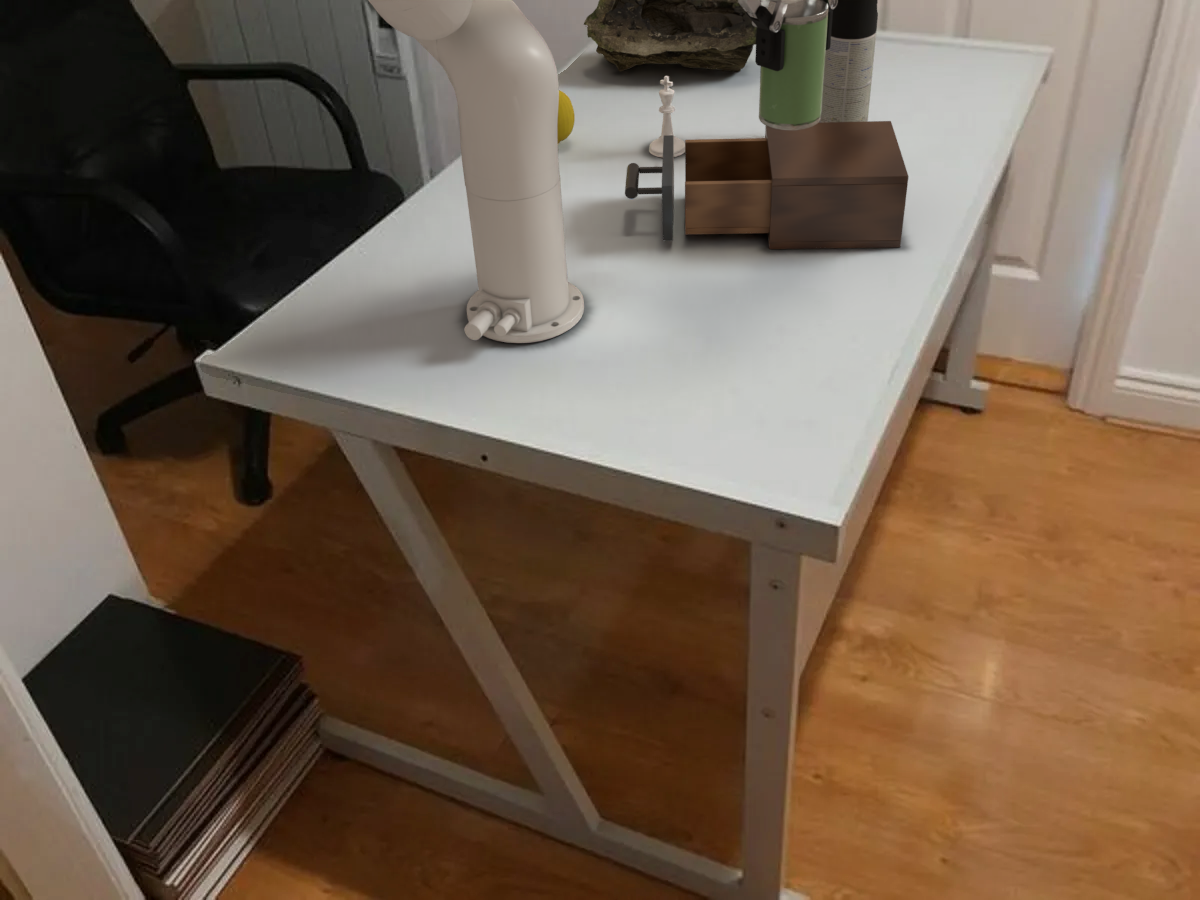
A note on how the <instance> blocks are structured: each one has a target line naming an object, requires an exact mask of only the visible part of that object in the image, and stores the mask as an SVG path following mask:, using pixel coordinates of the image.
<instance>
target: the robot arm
mask: <svg viewBox="0 0 1200 900" xmlns="http://www.w3.org/2000/svg"><path fill="white" fill-rule="evenodd" d="M367 1H368V2H369V3H370V5H371V6H372V7H373V8H374V10H375V11H376V12H377V14H378V15H379V16H380V18H382V19H383V20H384V21H385V22H386V23H387V24H388V25H390V26H391V27H392V28H393V29H395V30H396V31H398V32H400V33H402V34H403V35H405V36H408V37H410V38H414V39H415V40H416V42H418V43H419V44H420V45H421V46H422V47H423V48H424V49H425V51H427V52H428V53H429V54H430V56H432V57H433V58H434V59H435V60H436V61H437V62H438V64H439V65H440V66H441V67H442V69H443V70H444V72H445V74H446V76H447V77H448V78H447V79H448V81H449V83H450V84H451V86H452V87H453V91H454V95H455V98H456V103H457V109H458V118H459V119H458V120H459V141H460V153H461V154H460V155H461V163H462V172H463V181H464V186H465V192H466V199H467V200H466V201H467V208H468V209H467V210H468V216H469V222H470V223H469V224H470V231H471V238H472V246H473V247H472V248H473V254H474V264H475V271H476V279H477V287H478V290H476V291H475V292H474V293H473V294H472V295H471V296H470V298H469V299H468V301H467V304H466V317H467V321H468V322H467V323H466V325H464V333H465V335H466V337H467V338H468V339H470V340H472V341H479V340H480V339H481V338H482V337H485V338H487V339H490V340H493V341H497V342H500V343H501V342H502V343H503V342H504V343H508V344H530V343H537V342H543V341H546V340H549V339H552V338H555V337H558V336H560V335H562V334H564V333H566V332H568V331H569V330H571V329H572V328H573V327H574V326H576V325H577V324H578V323H579V322H580V321H581V319H582V318H583V315H584V313H585V301H584V296H583V293H582V292H581V290H580V289H579V288H578V287H577V286H576V285H574V284H572V283H571V282H570V281H569V278H568V265H567V264H568V263H567V251H566V250H567V249H566V237H565V223H564V210H563V195H562V182H561V175H560V161H559V160H560V159H559V144H558V139H557V122H558V104H559V90H560V82H559V74H558V69H557V65H556V62H555V59H554V56H553V53H552V51H551V48H550V47H549V46H548V44H547V42H546V40H545V39H544V38H543V36H542V35H541V33H540V32H539V31H538V29H537V28H536V27H535V25H534V24H533V23H532V22H531V21H530V20H529V19H528V18H527V16H526V15H525V14H524V12H523V11H522V10H521V8H520V7H519V6H518V5H517V4H516V2H514V0H367ZM770 1H772V2H775V3H776V4H775V8H774V11H773V14H771V13H770V12H769V10H768V6H769V2H770ZM798 1H801V0H738V3H739V4H740V5H741V6H742V8H743V9H744V10H745V11H746V14H747V16H748V17H749V18H750V19H751V20H752V25H753V26H755V27H756V45H755V60H754V61H755V64H756V65H757V66H759V67H761V66H762V67H765V68H768V69H771V70H774V71H780V70H782V69H783V67H784V48H785V30H782V29H780V28H781V25H782V22H783V18H784V15H785V12H786V9H787V5H788V4H792V3H796V2H798ZM823 1H825V2H826V3H827V4H828V7H829V8H828V23H827V37H826V50H828V49H830V44H831V30H832V15H833V11H832V10H831V9H834V8H835V7H836V6H837V3H838V0H823Z"/></svg>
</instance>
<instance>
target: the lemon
mask: <svg viewBox="0 0 1200 900" xmlns="http://www.w3.org/2000/svg"><path fill="white" fill-rule="evenodd" d="M575 121H576V116H575V109H574V106H573V103H572V101H571V98H570V97H569V96H568V95H567V94H566V92H565V91H562V90H561V89H559V104H558V122H557V139H558V145H559V144H560V143H561V142H563V141H565V140H566V139H568V138H569V136H570V135H571V134H572V132H573V129H574V126H575Z"/></svg>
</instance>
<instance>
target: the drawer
mask: <svg viewBox="0 0 1200 900" xmlns="http://www.w3.org/2000/svg"><path fill="white" fill-rule="evenodd" d="M674 136H675V135H674ZM674 136H673V135H664V138H663V157H662V163H661V164H662V165H661V166H640V165H639V164H638V163H636V162H631V163H629V164H627V166H626V176H625V187H624V195H625V197H626V198H627V199H629V200H634V199H636V198H637V197H638V195H661V223H662V224H661V225H662V227H661V229H662V231H661V232H662V241H663V242H668V241H669V242H670V241H671V242H672V241H674V213H675V212H674V211H675V210H674V209H675V157H674ZM684 142H685V152H684V153H685V154H684V156H685V157H684V162H685V163H684V168H685V169H684V171H685V172H684V176H685V178H684V222H685V223H684V235H733V234H734V235H736V234H737V235H739V234H742V235H745V234H768V233H769V229H770V206H771V183H772V182H771V173H770V165H769V157H768V148H767V140H766V138H765V137H750V138H749V137H746V138H743V137H742V138H702V139H698V138H695V139H685V140H684ZM640 174H661V186H660V187H657V186H656V187H655V186H654V187H639V183H640Z"/></svg>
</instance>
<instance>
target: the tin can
mask: <svg viewBox="0 0 1200 900" xmlns="http://www.w3.org/2000/svg"><path fill="white" fill-rule="evenodd" d="M775 4H776V3H775V2H772V1H770V2H769V6H768V10H769V12H770V13H771V14H773V11H774V8H775ZM828 8H829V7H828V4H827V3H826V2H825V1H823V0H801V1H798V2H796V3H792V4H788V5H787V9H786V12H785V15H784V18H783V22H782V25H781V28H780V29H782V30H785V48H784V67H783V69H782V70H780V71H774V70H771V69H768V68H765V67H762V66H760V71H759V72H760V74H759V75H760V76H759V100H758V101H759V102H758V120H759V121H760V123H761V124H763V125H764V126H768V127H771V128H775V129H780V130H801V129H806V128H809V127H812V126H814V125H816V124H817V123H819V121H820V120H821V111H822V96H823V81H824V67H825V52H826V37H827V23H828Z"/></svg>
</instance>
